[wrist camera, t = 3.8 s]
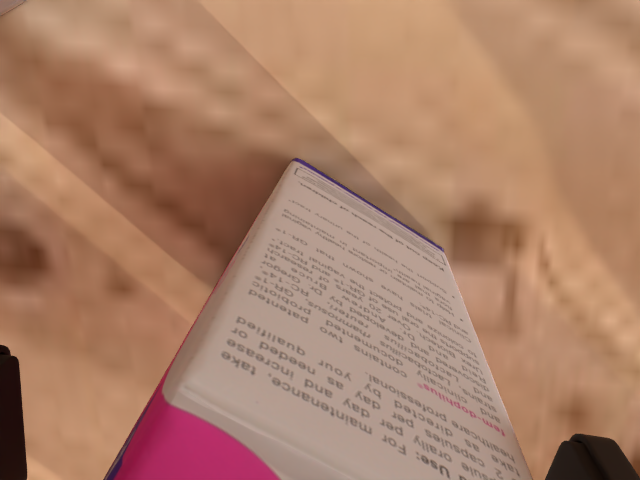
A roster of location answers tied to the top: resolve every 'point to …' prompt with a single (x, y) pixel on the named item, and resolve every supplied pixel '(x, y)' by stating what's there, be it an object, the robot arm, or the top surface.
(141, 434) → the supplement box
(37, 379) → the top surface
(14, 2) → the saucepan
